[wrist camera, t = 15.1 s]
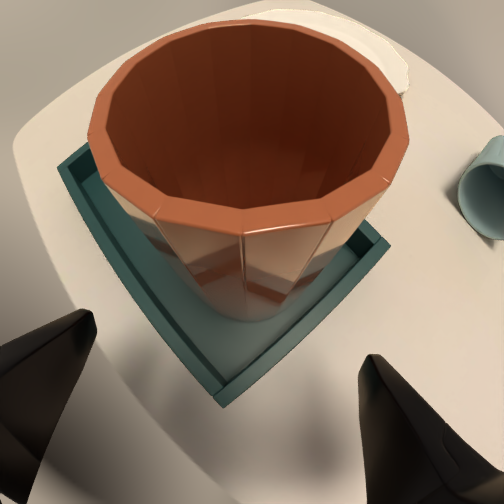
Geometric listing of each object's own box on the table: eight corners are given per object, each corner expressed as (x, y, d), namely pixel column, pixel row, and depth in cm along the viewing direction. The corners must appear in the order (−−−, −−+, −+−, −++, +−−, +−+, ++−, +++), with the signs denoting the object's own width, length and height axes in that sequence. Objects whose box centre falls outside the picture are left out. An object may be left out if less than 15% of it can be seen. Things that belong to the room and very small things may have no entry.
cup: (466, 159, 24) (443, 202, 21) (493, 111, 18) (482, 143, 14) (511, 199, 21) (498, 253, 18) (543, 157, 15) (546, 206, 12)
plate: (404, 51, 28) (407, 42, 27) (401, 145, 22) (408, 134, 20) (262, 8, 31) (262, 0, 29) (187, 80, 24) (184, 67, 23)
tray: (371, 262, 18) (391, 245, 15) (227, 399, 16) (223, 409, 13) (193, 103, 23) (189, 76, 20) (74, 187, 20) (56, 167, 17)
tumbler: (317, 310, 17) (460, 204, 4) (199, 331, 16) (69, 266, 4) (292, 204, 19) (337, 20, 7) (185, 221, 19) (114, 43, 6)
